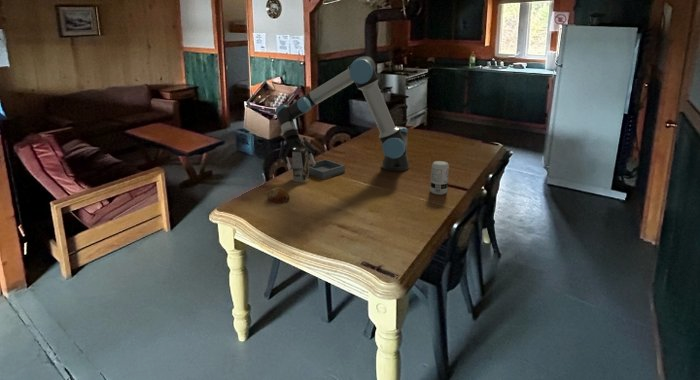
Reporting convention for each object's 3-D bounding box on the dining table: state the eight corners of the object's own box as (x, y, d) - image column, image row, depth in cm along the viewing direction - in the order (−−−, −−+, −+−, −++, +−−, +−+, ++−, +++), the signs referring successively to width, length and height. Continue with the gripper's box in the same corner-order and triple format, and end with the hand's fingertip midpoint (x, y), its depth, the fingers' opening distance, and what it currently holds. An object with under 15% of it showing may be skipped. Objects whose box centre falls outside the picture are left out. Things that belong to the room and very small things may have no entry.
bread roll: (281, 202, 241) (275, 187, 240) (295, 198, 234) (289, 182, 233) (267, 209, 233) (260, 193, 232) (281, 204, 227) (275, 188, 226)
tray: (344, 172, 271) (344, 165, 270) (322, 179, 261) (322, 172, 259) (325, 165, 282) (325, 159, 281) (303, 172, 272) (303, 165, 270)
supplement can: (428, 189, 248) (430, 160, 242) (444, 188, 248) (446, 160, 243) (432, 195, 240) (434, 165, 235) (448, 194, 241) (451, 165, 236)
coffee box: (304, 182, 256) (303, 152, 250) (292, 181, 257) (291, 151, 252) (309, 176, 265) (308, 147, 259) (297, 175, 266) (296, 146, 260)
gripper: (309, 133, 272) (321, 166, 265) (266, 138, 261) (277, 174, 254) (313, 125, 266) (326, 160, 259) (269, 131, 255) (281, 167, 248)
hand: (302, 167), depth 257 cm, fingers open, 13 cm apart
